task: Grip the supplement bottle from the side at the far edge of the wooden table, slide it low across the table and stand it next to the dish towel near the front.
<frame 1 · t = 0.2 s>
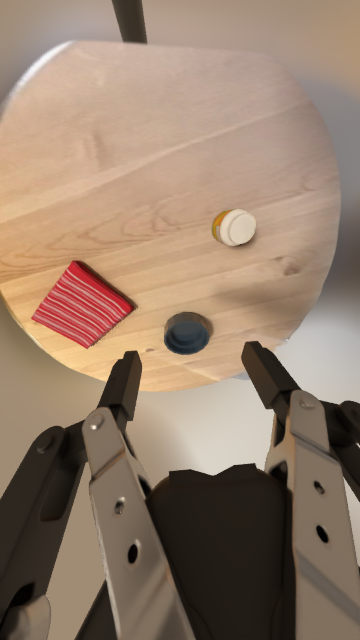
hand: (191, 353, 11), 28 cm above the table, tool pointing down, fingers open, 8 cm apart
supplement bottle: (223, 227, 30), on the table
dish towel: (85, 309, 39), on the table
fruit bowl: (185, 328, 45), on the table
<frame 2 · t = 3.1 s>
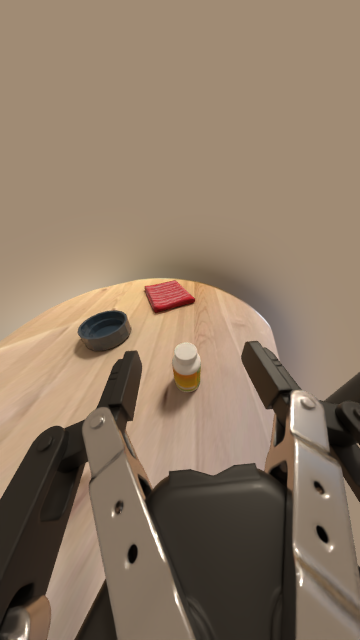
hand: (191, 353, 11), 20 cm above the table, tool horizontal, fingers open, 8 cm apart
supplement bottle: (187, 380, 30), on the table
dish towel: (167, 296, 63), on the table
fruit bowl: (109, 335, 44), on the table
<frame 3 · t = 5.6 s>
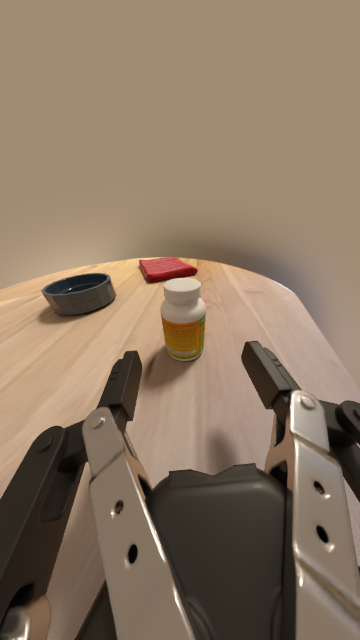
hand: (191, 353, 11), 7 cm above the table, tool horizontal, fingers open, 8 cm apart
supplement bottle: (184, 348, 21), on the table
dish towel: (165, 270, 53), on the table
fruit bowl: (88, 302, 34), on the table
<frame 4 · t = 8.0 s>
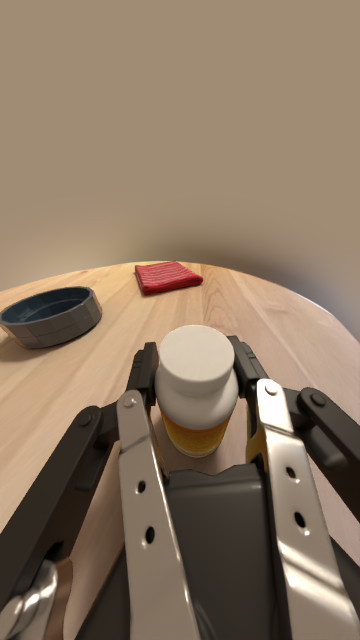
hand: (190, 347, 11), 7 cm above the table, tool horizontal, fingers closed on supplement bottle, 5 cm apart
supplement bottle: (194, 419, 13), on the table, touching gripper
dish towel: (164, 277, 46), on the table
fruit bowl: (66, 324, 27), on the table
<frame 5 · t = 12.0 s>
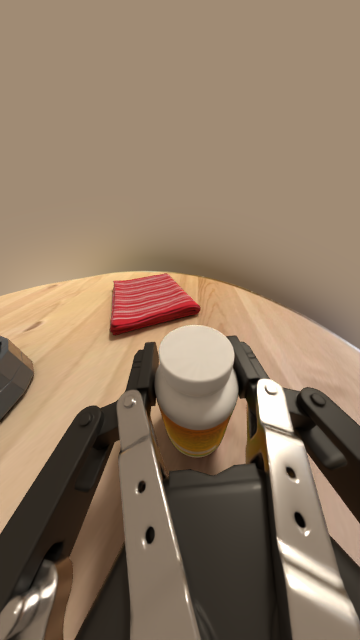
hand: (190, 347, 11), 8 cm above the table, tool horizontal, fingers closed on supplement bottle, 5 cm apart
supplement bottle: (194, 419, 13), on the table, touching gripper
dish towel: (149, 299, 35), on the table
when the fingers open (7 cm above the table, at t = 15.8 s): supplement bottle stays where it is, on the table.
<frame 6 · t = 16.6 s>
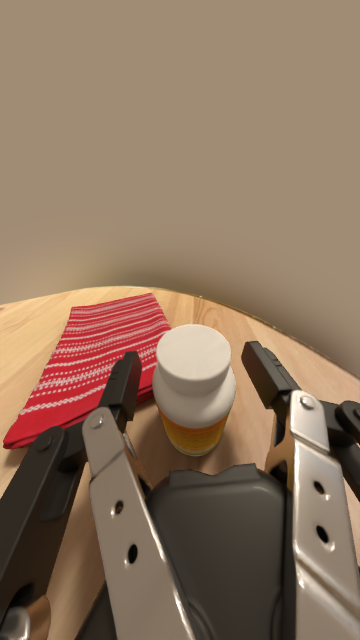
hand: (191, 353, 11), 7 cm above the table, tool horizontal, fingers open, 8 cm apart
supplement bottle: (193, 419, 13), on the table
dish towel: (118, 341, 23), on the table
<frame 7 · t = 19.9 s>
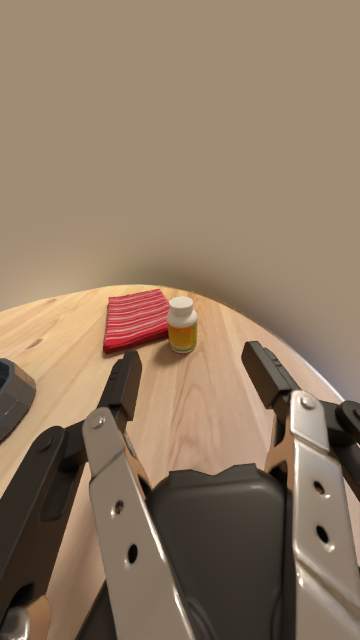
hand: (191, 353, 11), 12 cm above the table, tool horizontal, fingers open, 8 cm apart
supplement bottle: (183, 344, 29), on the table
dish towel: (141, 316, 38), on the table
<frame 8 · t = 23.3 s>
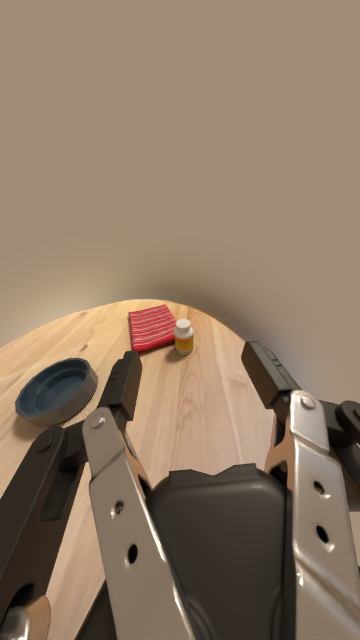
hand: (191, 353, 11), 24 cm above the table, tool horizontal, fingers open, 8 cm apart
supplement bottle: (184, 348, 43), on the table
dish towel: (153, 327, 52), on the table
fruit bowl: (68, 393, 33), on the table
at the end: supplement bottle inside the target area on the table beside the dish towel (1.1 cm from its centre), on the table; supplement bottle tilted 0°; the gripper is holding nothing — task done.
